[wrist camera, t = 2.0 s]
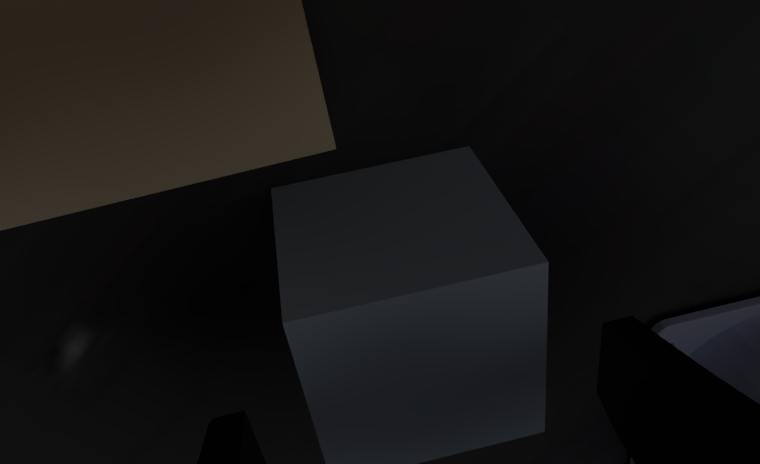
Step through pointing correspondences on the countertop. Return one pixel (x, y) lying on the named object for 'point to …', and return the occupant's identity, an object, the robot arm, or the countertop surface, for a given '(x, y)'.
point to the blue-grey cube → (412, 309)
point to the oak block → (148, 98)
